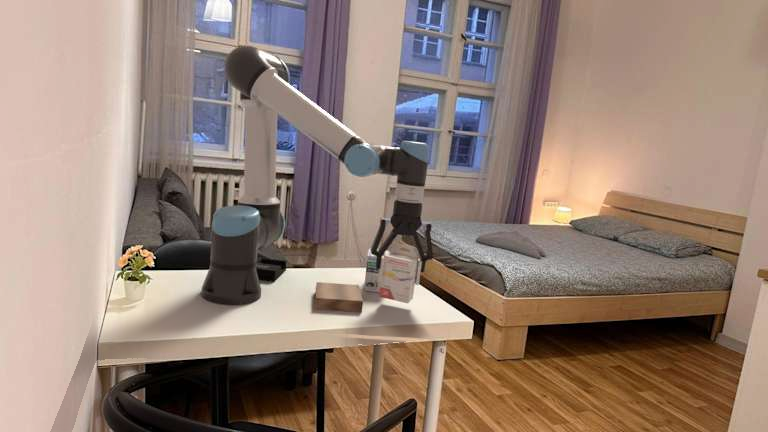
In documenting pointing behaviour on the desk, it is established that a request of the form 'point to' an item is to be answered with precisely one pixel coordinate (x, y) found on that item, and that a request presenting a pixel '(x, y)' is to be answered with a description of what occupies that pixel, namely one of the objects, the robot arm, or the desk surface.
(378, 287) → the light bulb box
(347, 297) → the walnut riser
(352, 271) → the desk surface
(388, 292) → the ink cartridge box
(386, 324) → the desk surface
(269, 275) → the battery charger
